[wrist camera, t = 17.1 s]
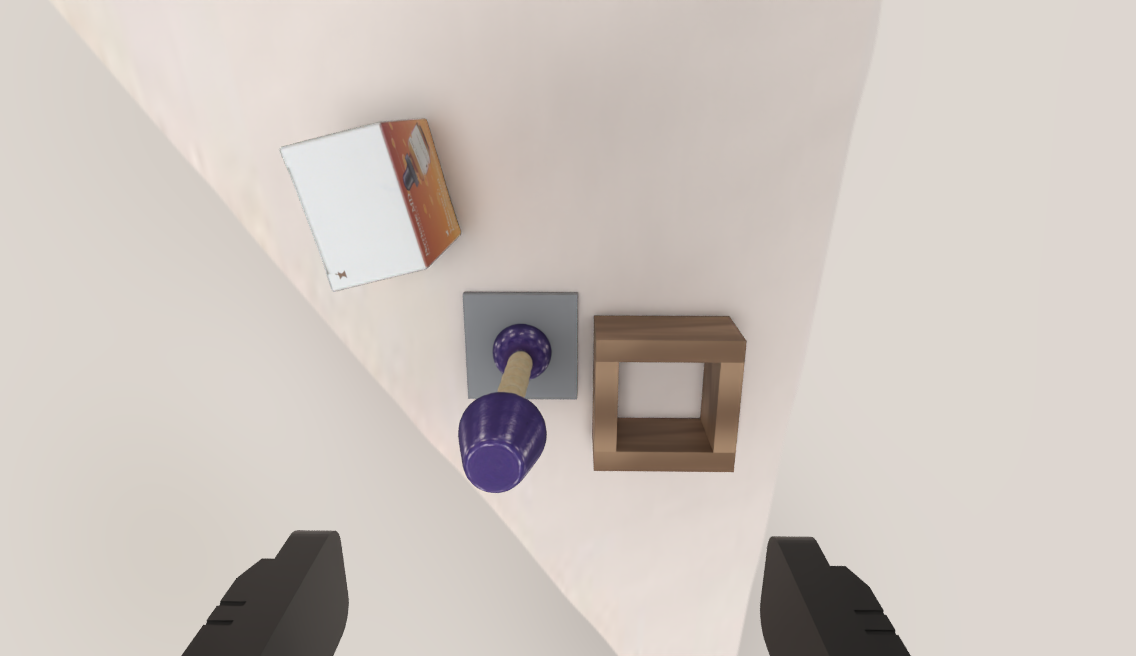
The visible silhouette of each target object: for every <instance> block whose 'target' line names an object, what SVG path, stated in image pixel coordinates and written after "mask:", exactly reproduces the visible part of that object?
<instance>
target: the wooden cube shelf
mask: <svg viewBox="0 0 1136 656" xmlns="http://www.w3.org/2000/svg"><path fill="white" fill-rule="evenodd" d="M746 342H747V341H746V340H745V338H744V337H743V335H742V334H741V332H740V331H739V330H738V328H737V327H736V325H735V324H734V322H733V321H732V320H731V318H730V317H729V316H594V359H593V423H592V440H593V463H594V471H678V472H734V463H735V453H736V443H737V433H738V423H739V413H740V403H741V392H742V382H743V372H744V362H745V352H746ZM619 362H694V363H705V364H704V377H703V390H702V403H701V416H700V419H693V418H617V408H618V374H619Z"/></svg>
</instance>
